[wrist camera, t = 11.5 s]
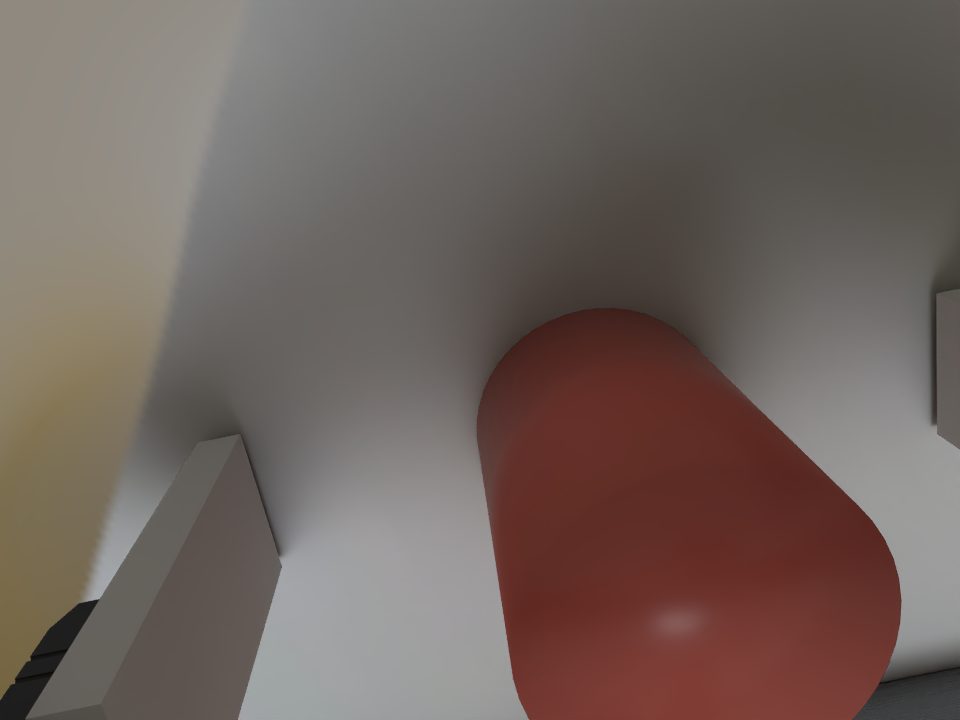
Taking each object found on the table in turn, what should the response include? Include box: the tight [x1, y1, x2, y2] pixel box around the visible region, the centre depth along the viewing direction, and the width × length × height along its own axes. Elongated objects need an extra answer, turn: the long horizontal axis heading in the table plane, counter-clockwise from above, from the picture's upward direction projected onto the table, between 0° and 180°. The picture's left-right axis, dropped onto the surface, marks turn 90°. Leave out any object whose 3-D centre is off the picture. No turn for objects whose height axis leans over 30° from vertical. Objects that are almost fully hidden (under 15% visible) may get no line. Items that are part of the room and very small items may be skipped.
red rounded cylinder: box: [477, 308, 901, 720], centre depth 12 cm, size 4×4×6 cm
